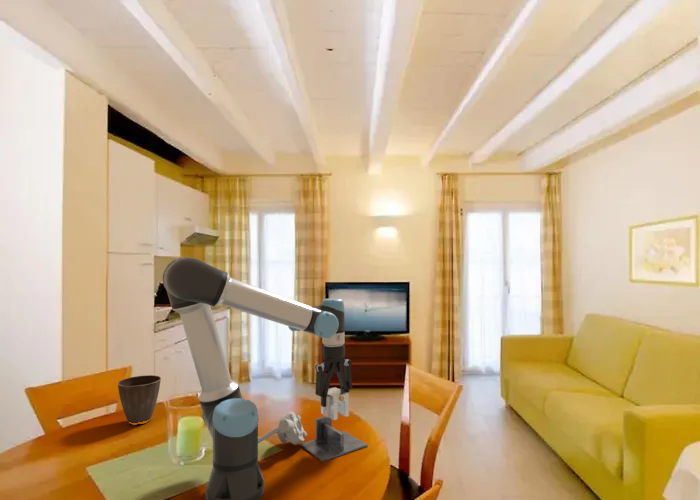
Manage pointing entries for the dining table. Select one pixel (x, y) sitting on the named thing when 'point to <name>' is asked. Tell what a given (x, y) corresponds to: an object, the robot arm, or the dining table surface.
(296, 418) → the valve
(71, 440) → the dining table surface
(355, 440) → the dark grey angled piece
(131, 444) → the dining table surface
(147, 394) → the plant pot
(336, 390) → the hollow grey box
